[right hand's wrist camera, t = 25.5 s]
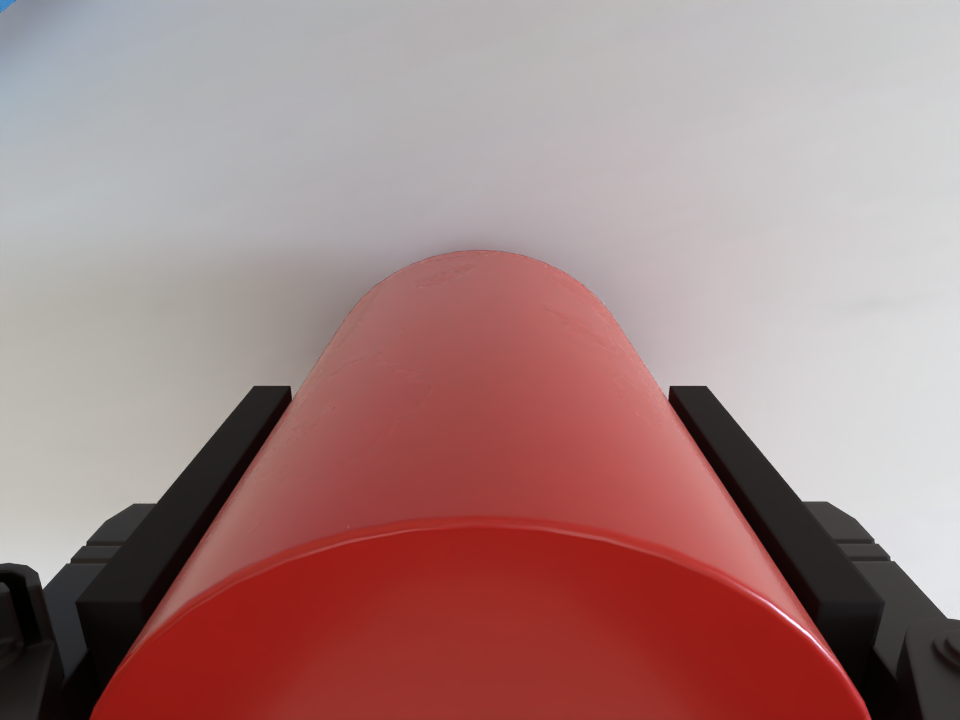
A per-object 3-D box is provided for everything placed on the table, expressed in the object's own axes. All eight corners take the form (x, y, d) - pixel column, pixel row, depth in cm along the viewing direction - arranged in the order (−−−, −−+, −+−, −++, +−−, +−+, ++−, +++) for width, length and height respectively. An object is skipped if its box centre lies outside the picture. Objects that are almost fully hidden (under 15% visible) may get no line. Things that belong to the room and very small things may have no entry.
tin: (627, 227, 15) (930, 461, 5) (645, 520, 18) (867, 1063, 8) (289, 274, 15) (-75, 582, 5) (357, 554, 18) (202, 1115, 8)
